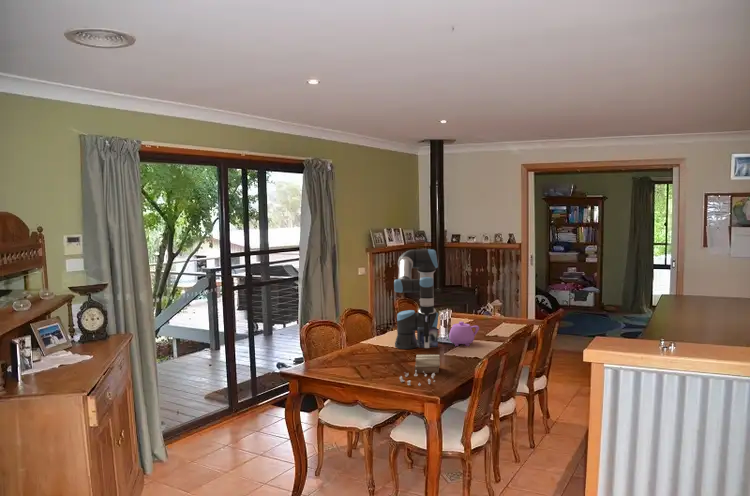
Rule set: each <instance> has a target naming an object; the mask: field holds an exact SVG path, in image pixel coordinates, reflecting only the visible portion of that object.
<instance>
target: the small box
mask: <svg viewBox="0 0 750 496" xmlns="http://www.w3.org/2000/svg"><path fill="white" fill-rule="evenodd" d="M423 335H424V327H417V331H416V339H417V346H418V347H417V348H419V349H425V348H424V336H423ZM438 337H439V333H438V327H437V328H436V327H429V348H438V346H439V342H438V341H439V340H438V339H439V338H438Z"/></svg>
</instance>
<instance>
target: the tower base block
mask: <svg viewBox="0 0 750 496" xmlns="http://www.w3.org/2000/svg"><path fill="white" fill-rule="evenodd" d="M415 370H417V371H415ZM423 371H424V372H423ZM439 372H440V367H416V363H415V365H414V374H415V373H417V374H424V373H425V374H433V373H435V374H439Z"/></svg>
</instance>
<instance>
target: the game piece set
mask: <svg viewBox="0 0 750 496" xmlns="http://www.w3.org/2000/svg"><path fill="white" fill-rule="evenodd" d="M415 371H417V370H415V369H414V374H413V376H414V377H418V375H419V373H415ZM423 372H424V371H423ZM403 374H404V376H405V378H407V377H409V376H410V375H409V373H406V371H404V372H403ZM423 374H424V377H427V376H428V373H423ZM435 376H436V373H431V376H430V378H431V379H433V382H434V383H435V382H436V380H434V379H435V378H434V377H435ZM403 378H404V377H403V376H402V375H400V376H399V381H400V383H403V382H405V379H403ZM430 378H428V379H427V382H428V385H431V379H430ZM411 382H412V380H407V381H406V383H407V386H411ZM421 385H422V383H420V382H419V383H418V386H419V387H421Z"/></svg>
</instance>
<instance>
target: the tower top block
mask: <svg viewBox="0 0 750 496" xmlns="http://www.w3.org/2000/svg"><path fill="white" fill-rule="evenodd" d="M415 364H416V367H439V368H440V367H441V361H440V354H416V356H415Z"/></svg>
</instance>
